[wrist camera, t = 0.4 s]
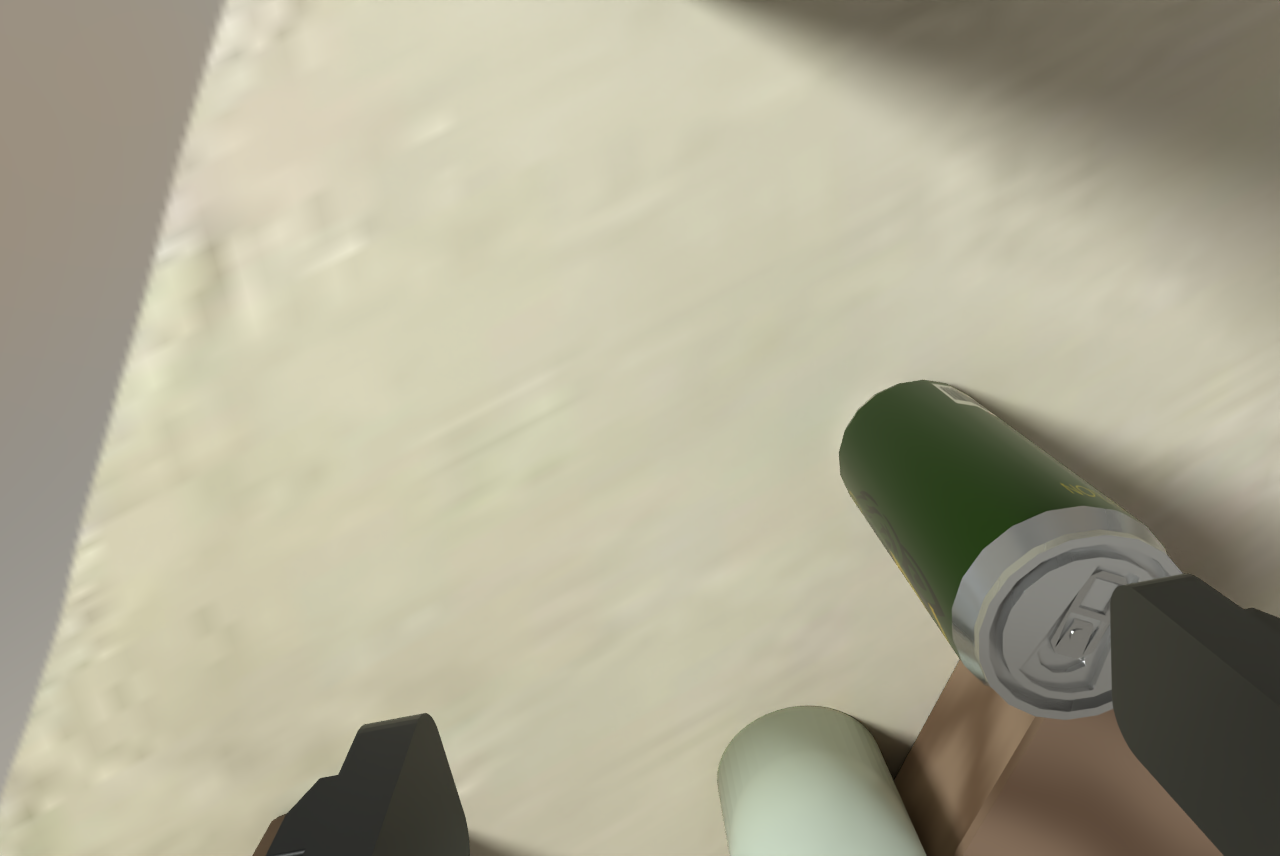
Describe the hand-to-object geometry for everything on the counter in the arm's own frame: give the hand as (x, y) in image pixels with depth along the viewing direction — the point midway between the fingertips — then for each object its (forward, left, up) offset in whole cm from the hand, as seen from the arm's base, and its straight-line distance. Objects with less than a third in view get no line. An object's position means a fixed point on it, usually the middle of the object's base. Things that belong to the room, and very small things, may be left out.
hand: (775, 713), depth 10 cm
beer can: (+1, +10, -20) cm, 22 cm away
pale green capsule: (+16, +12, -20) cm, 28 cm away
